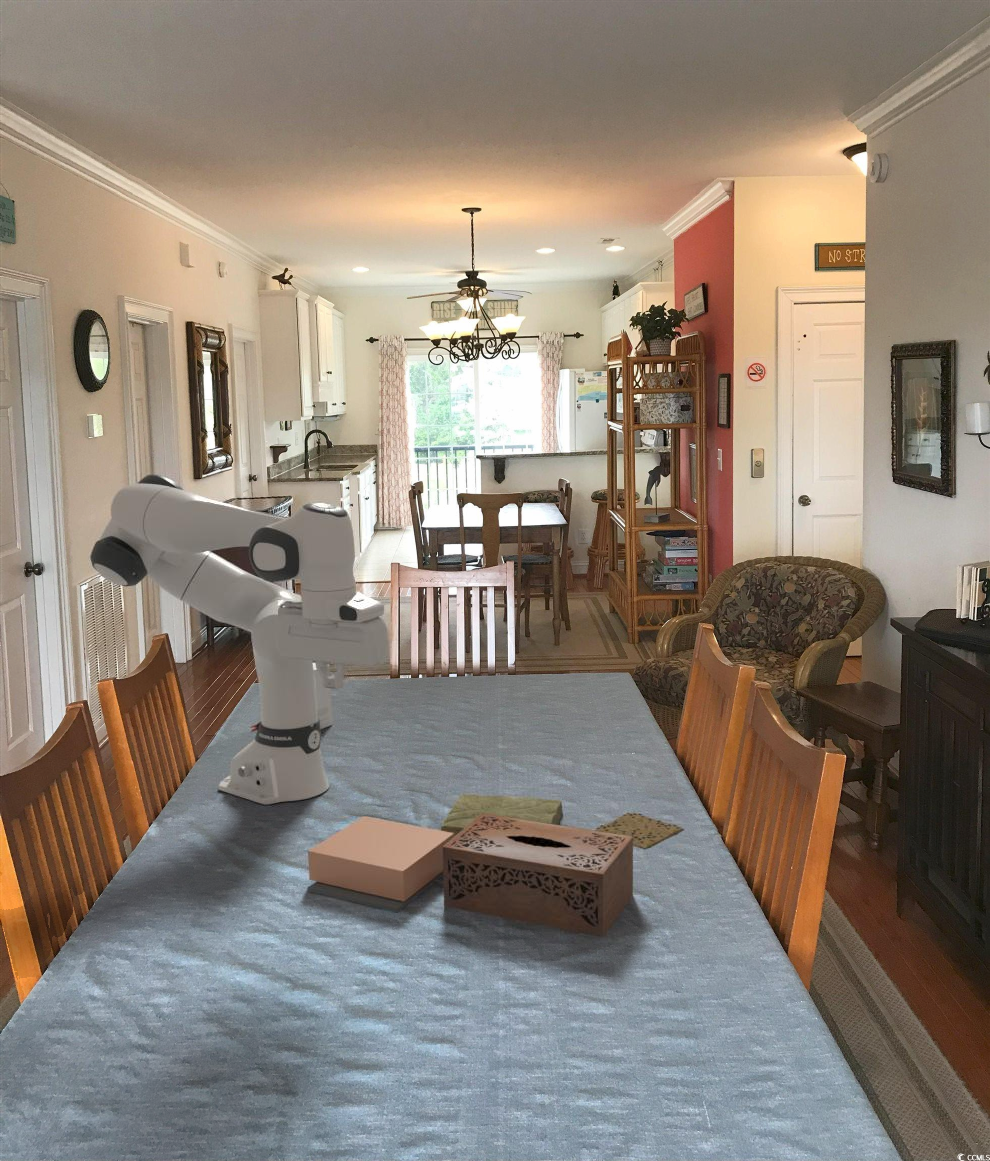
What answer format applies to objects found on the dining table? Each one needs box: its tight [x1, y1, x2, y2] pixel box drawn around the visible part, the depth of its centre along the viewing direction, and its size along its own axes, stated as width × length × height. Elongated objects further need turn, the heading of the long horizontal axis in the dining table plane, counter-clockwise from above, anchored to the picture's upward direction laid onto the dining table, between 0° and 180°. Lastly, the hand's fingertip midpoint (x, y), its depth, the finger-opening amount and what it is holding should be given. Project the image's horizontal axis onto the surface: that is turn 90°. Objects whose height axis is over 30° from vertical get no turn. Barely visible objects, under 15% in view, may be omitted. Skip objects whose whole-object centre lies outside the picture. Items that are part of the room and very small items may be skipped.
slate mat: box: [307, 871, 443, 913], centre depth 179 cm, size 17×20×1 cm
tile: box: [307, 815, 454, 901], centre depth 178 cm, size 5×16×18 cm
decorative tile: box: [440, 793, 564, 837], centre depth 198 cm, size 19×20×4 cm
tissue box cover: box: [442, 813, 634, 938], centre depth 168 cm, size 26×14×10 cm, turn 66°
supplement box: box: [312, 661, 334, 730], centre depth 259 cm, size 9×9×15 cm
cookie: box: [593, 811, 685, 850], centre depth 195 cm, size 12×12×1 cm
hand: (333, 687), depth 177 cm, fingers closed
